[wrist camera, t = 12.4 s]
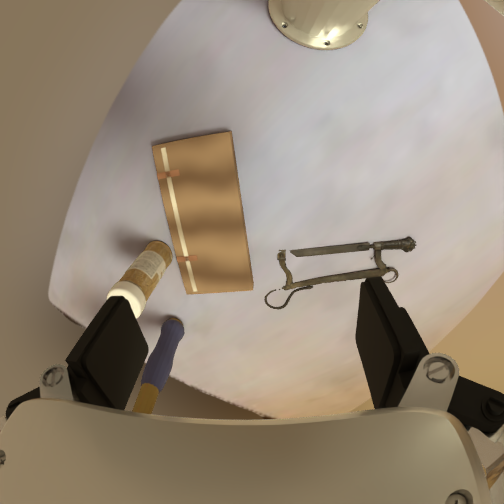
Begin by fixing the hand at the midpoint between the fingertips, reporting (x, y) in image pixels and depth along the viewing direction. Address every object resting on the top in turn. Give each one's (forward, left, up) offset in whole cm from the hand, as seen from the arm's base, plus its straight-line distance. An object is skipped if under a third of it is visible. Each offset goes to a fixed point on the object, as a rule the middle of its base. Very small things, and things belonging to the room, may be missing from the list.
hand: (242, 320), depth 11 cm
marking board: (+5, -8, -28) cm, 30 cm away
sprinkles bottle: (+10, -16, -28) cm, 34 cm away
